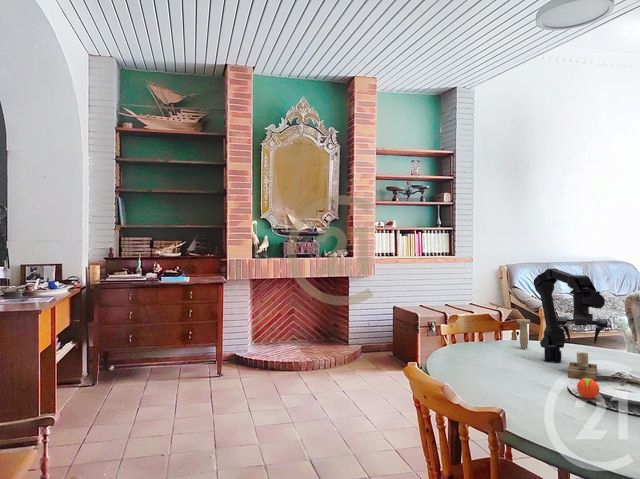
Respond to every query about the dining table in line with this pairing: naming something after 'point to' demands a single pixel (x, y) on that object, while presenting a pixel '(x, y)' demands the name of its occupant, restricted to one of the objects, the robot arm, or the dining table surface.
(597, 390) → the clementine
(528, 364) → the dining table surface
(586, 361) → the peg
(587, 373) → the socket block
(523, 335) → the handle
